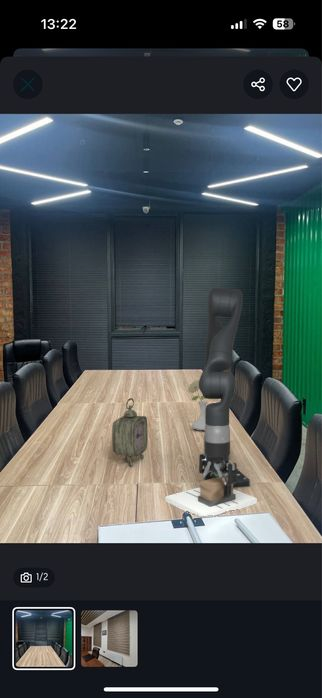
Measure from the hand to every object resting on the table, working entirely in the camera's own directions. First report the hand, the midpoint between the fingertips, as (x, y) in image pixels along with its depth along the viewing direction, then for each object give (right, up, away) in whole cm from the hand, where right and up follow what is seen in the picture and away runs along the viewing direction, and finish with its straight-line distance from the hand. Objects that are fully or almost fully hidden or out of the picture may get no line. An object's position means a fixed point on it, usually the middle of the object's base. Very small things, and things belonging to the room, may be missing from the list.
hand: (217, 492), depth 149 cm
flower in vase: (+3, +3, +98) cm, 98 cm away
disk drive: (+6, -3, +23) cm, 24 cm away
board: (-2, -4, +3) cm, 5 cm away
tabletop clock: (-29, -1, +45) cm, 53 cm away
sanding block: (0, -2, 0) cm, 2 cm away
